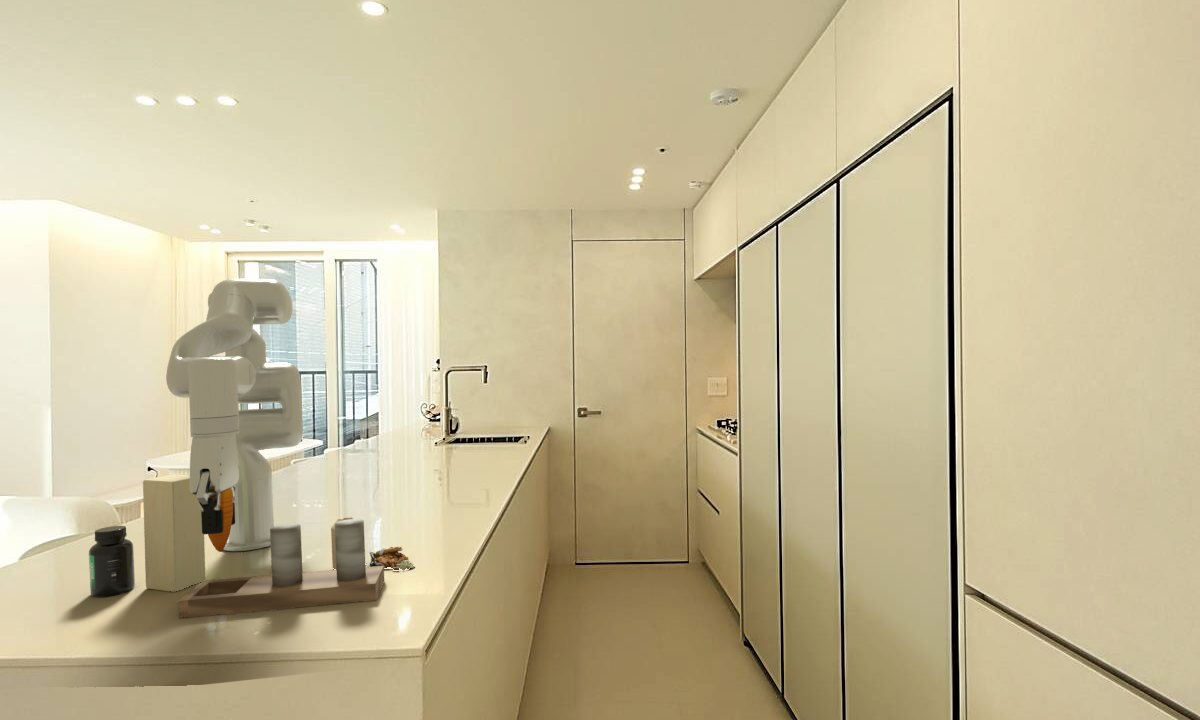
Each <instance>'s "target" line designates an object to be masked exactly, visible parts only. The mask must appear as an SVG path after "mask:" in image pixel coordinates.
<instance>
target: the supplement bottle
mask: <svg viewBox="0 0 1200 720" xmlns="http://www.w3.org/2000/svg"><path fill="white" fill-rule="evenodd" d="M127 536H128V534H127V527H126V526H125V525H114V526H113V525H112V526H107V527H106V526H105V527H102V528H98V529H96V530H94V542H96V543H95V544H93V545H92V546H91V547H90V548H89V550H88V563H89V587H90V589H89V590H90V595H91V596H92V597H94V598H95V597H96V598H106V597H107V598H108V597H113V596H117V595H122V594H124V593H127V592H130V591H131V590H133V589H134V587H135V585H136V584H135V583H136V582H135V580H136V579H135V557H134V555H135V553H134V543H133V542H132V541H131V540H130V539H127V538H126V537H127Z"/></svg>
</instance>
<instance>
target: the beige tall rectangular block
mask: <svg viewBox="0 0 1200 720" xmlns="http://www.w3.org/2000/svg"><path fill="white" fill-rule="evenodd" d="M142 494H143V495H142V496H143V497H142V499H143V530H144V531H143V533H144V538H143V539H144V565H145V566H144V567H145V569H144V571H145V587H146V589H150V590H157V591H164V592H170V591H171V593H177V592H180V591H182V590H184V588H185V589H187V588H190V587H192V586H191V585H193V586H195V585H194V584H196V585H198V584H200V582H202V581H204V580H205V581H206V558H205V557H206V554H205V553H206V552H205V534H203V533H202V518H201V511H200V503H199V501H198V499H197V497H196V495H197V494H196V495H193V494H192V493H191V492H190V474H179V473H173V474H166V475H162V476H156V477H150V478H146V479H143V481H142ZM197 583H198V584H197ZM189 586H190V587H189ZM186 587H187V588H186ZM179 590H180V591H179ZM176 591H177V592H176Z"/></svg>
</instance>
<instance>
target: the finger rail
mask: <svg viewBox="0 0 1200 720" xmlns="http://www.w3.org/2000/svg"><path fill="white" fill-rule="evenodd" d="M334 524H335V545H336V570H333V569H327V570H317V571H316V570H314V571H303V555H302V553H303V551H302V530H301V529H302V527H301V524H300V523H296V522H295V523H283V524H278V525H274V527H272V528H270V542H271V546H270V558H271V559H270V563H271V564H270V565H271V574H270V575H269V574H267V575H256V576H245V577H232V578H220V579H207V580H206V579H205V581H202V582H201V583H198V584H196V585H195V587H194V588H192V589H191V590H190V591H188V592H187V593H186V594H184V596H182V597H181V598H180V599H179V600H177V603H178V604H177V606H178V619H186V618H185V617H189V618H196V617H195V616H200V617H207V616H206V615H211V616H218V615H217V614H222V615H230V614H231V613H232V614H242V613H243V612H244V613H252V612H251V611H255V612H264V610H266V611H275V609H277V610H284V608H285V609H286V608H287V609H293V608H292V607H298V608H305V607H304V606H309V607H315V606H314V605H320V606H329V605H328V604H331V605H338V604H337V603H342V604H346V603H345V602H353V603H359V602H358V601H364V602H373V601H372V600H375V601H377V599H378V597H377V596H379V595H380V592H381V590H382V588H381V586H382V587H383V585H384V583H385V570H384V566H382V565H375V566H366V565H365V563H366V543H365V539H366V538H365V520H363V519H360V518H353V519H349V520H343V521H339V522H337V523H335V522H334ZM383 582H384V583H383ZM382 584H383V585H382ZM380 589H381V590H380ZM379 591H380V592H379ZM378 594H379V595H378ZM370 600H371V601H370ZM326 604H327V605H326ZM302 606H303V607H302ZM287 609H286V610H287ZM241 612H242V613H241ZM244 613H243V614H244ZM232 614H231V615H232ZM183 617H184V618H183Z"/></svg>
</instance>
